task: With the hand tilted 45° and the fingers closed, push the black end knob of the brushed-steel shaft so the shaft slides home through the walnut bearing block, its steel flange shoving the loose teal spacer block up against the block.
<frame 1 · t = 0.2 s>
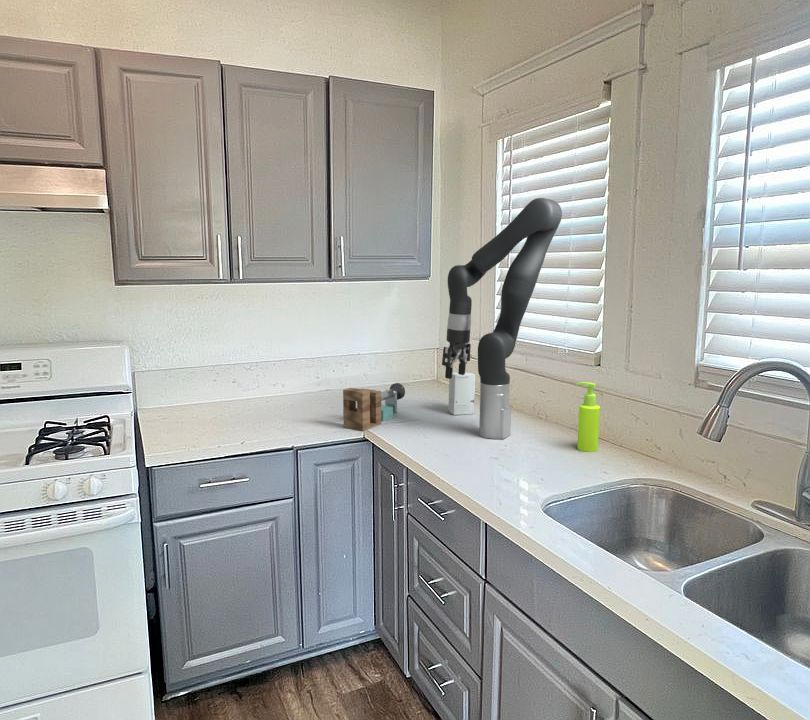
hand: (455, 376, 199), 18 cm above the worktop, tool pointing down, fingers open, 8 cm apart
bearing stand: (369, 423, 209), on the worktop
skincare box: (461, 413, 223), on the worktop
soap dispenser: (585, 449, 181), on the worktop
shaft: (382, 402, 215), point 6 cm above the worktop, slide at 0.0 cm
spacer: (382, 418, 216), on the worktop
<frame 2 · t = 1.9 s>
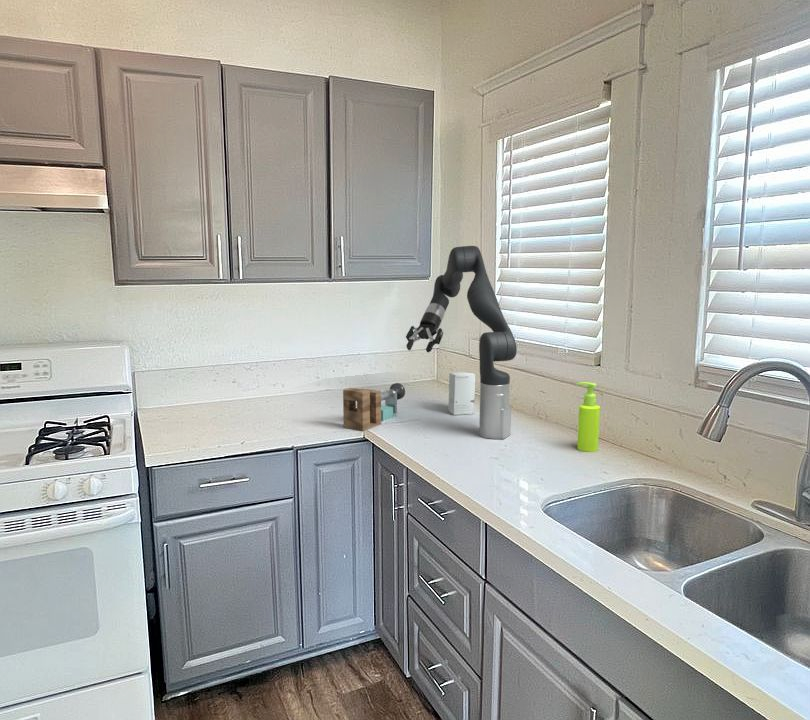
hand: (417, 350, 232), 21 cm above the worktop, tool tilted 45°, fingers open, 8 cm apart
nothing on the worktop moved.
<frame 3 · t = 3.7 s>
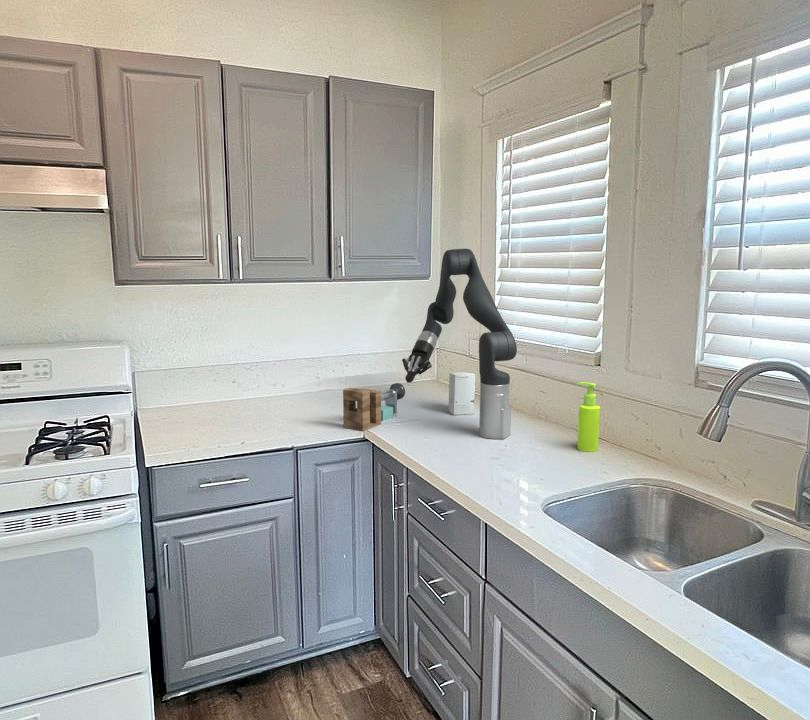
hand: (408, 381, 228), 10 cm above the worktop, tool tilted 45°, fingers closed
nothing on the worktop moved.
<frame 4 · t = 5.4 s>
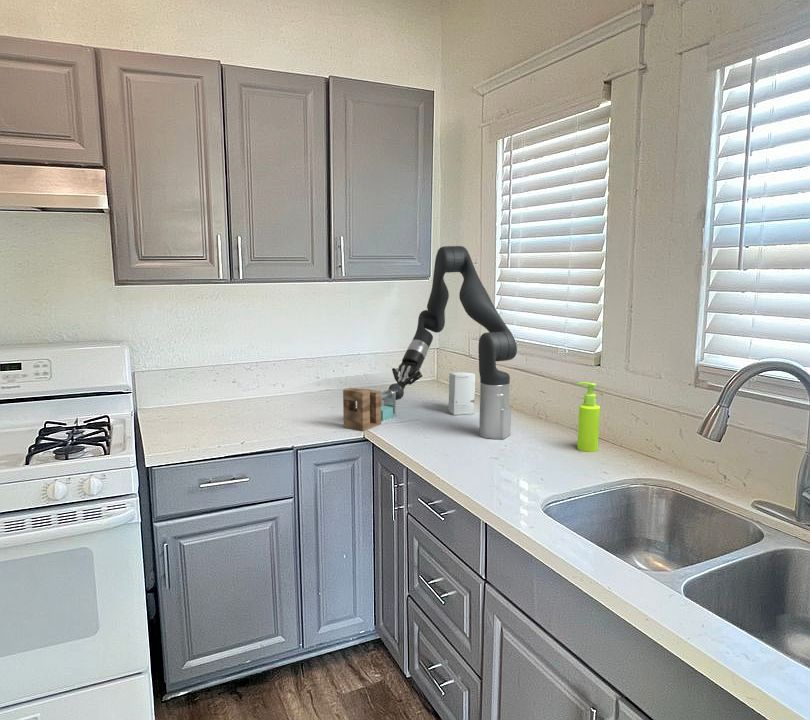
hand: (398, 391, 223), 8 cm above the worktop, tool tilted 45°, fingers closed
shaft: (380, 402, 214), point 6 cm above the worktop, slide at 0.9 cm, touching gripper
everything else where it was.
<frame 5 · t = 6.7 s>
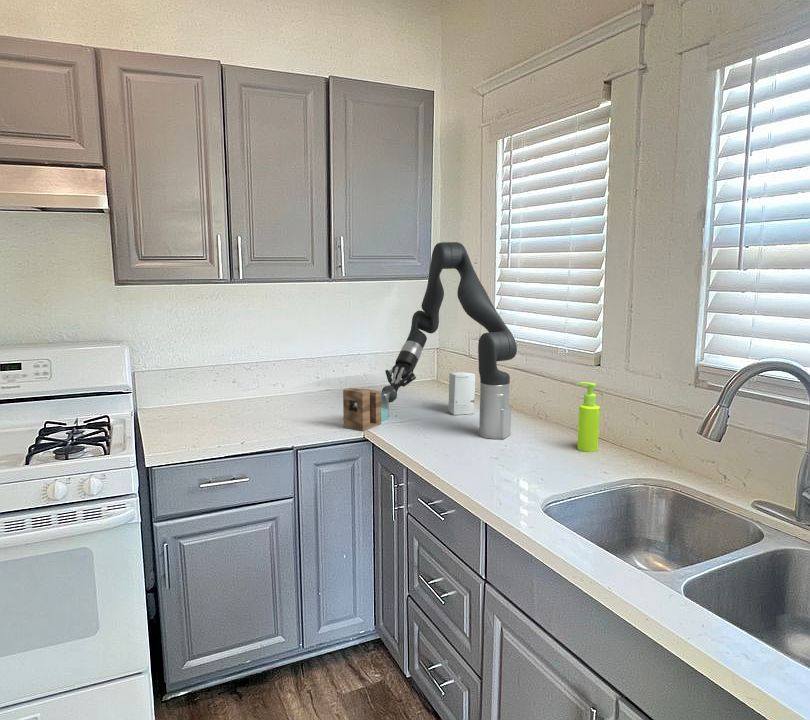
hand: (391, 394, 219), 8 cm above the worktop, tool tilted 45°, fingers closed
shaft: (373, 405, 210), point 6 cm above the worktop, slide at 5.3 cm, touching gripper
spacer: (377, 420, 213), on the worktop
everything else where it was.
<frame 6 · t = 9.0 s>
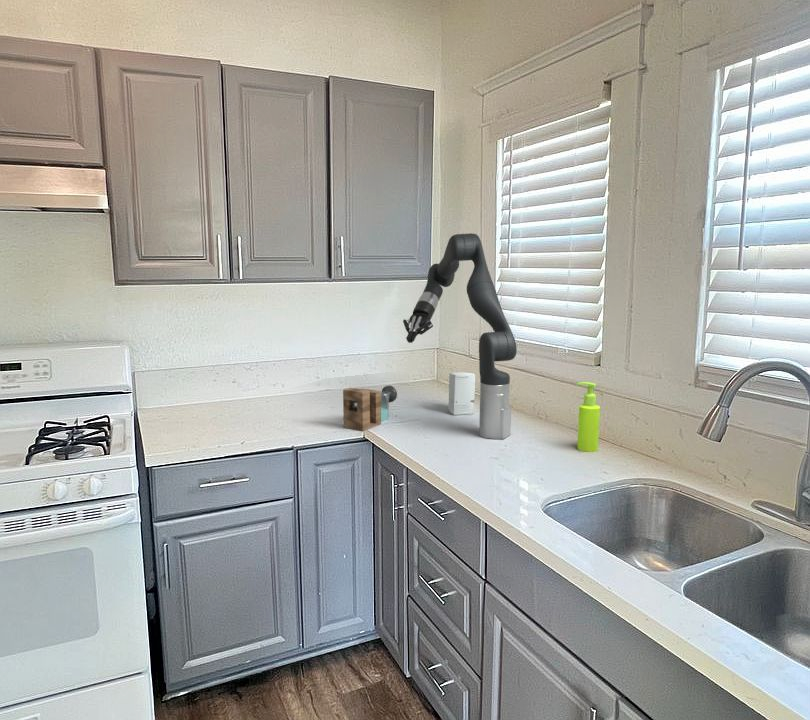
hand: (409, 341, 226), 25 cm above the worktop, tool tilted 45°, fingers closed
shaft: (373, 405, 210), point 6 cm above the worktop, slide at 5.3 cm
everything else where it was.
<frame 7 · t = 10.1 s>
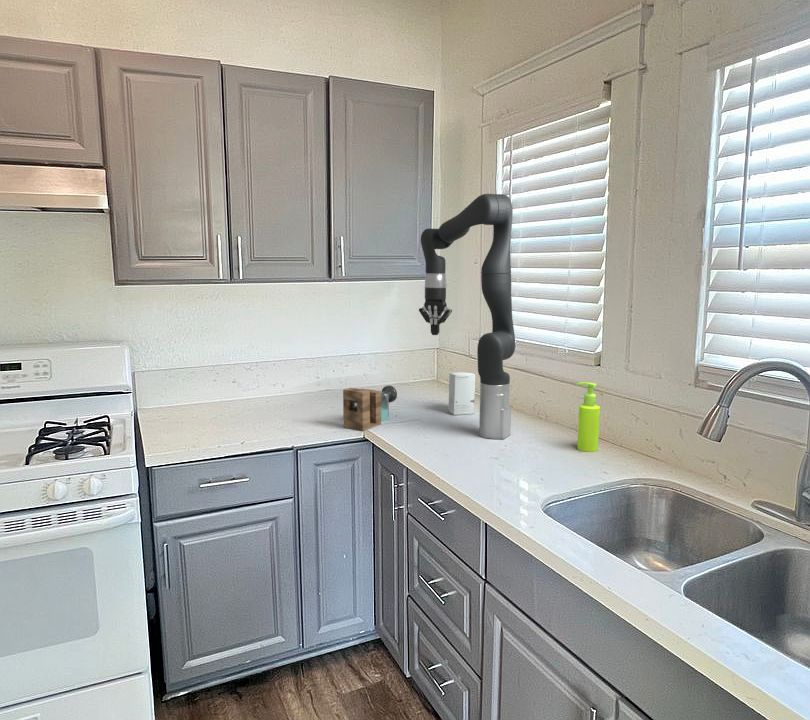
hand: (435, 334, 218), 29 cm above the worktop, tool pointing down, fingers closed
nothing on the worktop moved.
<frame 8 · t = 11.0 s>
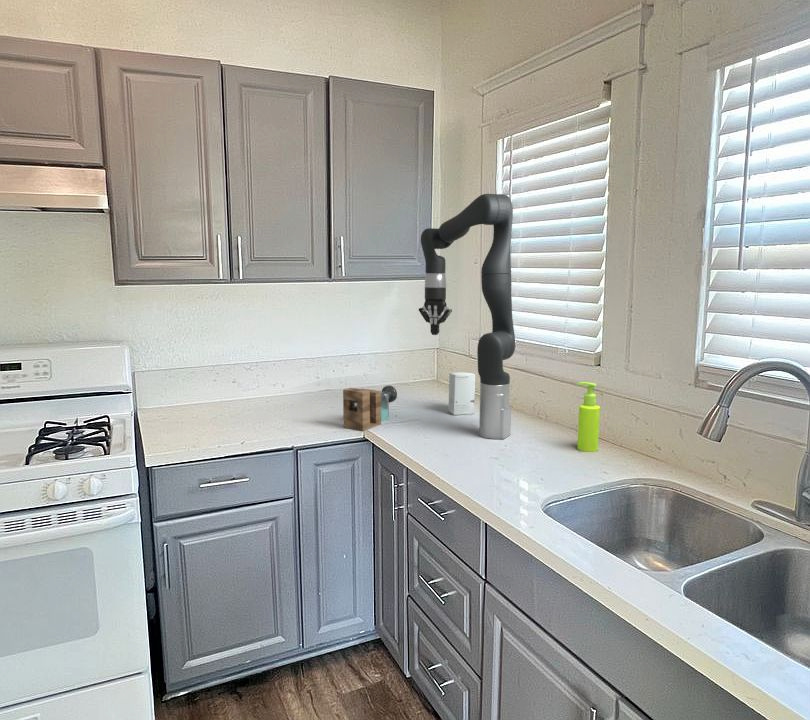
hand: (434, 334, 218), 29 cm above the worktop, tool pointing down, fingers closed
nothing on the worktop moved.
at the end: shaft slide at 5.3 cm; spacer 0.4 cm from the target spot on the bearing stand, point 0.0 cm above the bearing stand's base; spacer tilted 0° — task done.
